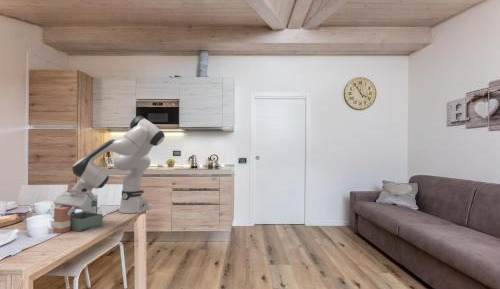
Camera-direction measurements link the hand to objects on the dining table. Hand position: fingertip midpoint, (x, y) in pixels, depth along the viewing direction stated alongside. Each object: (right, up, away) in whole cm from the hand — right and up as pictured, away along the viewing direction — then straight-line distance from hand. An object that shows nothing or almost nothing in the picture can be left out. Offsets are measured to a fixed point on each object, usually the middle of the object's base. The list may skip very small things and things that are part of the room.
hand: (62, 214), depth 145 cm
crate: (+4, -9, +10) cm, 14 cm away
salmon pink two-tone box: (0, -9, 0) cm, 9 cm away
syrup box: (-1, -9, +27) cm, 28 cm away
